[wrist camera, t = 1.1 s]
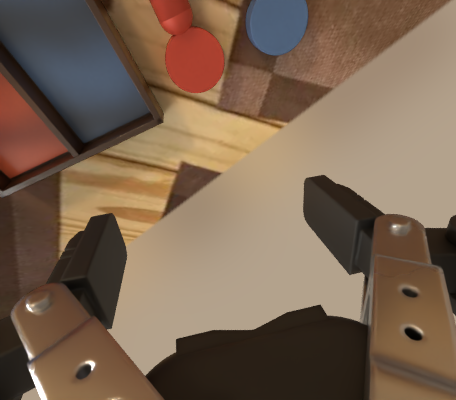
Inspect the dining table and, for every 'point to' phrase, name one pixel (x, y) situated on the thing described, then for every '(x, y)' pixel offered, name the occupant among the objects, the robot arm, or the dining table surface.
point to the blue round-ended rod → (276, 24)
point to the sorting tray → (64, 88)
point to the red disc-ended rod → (189, 48)
